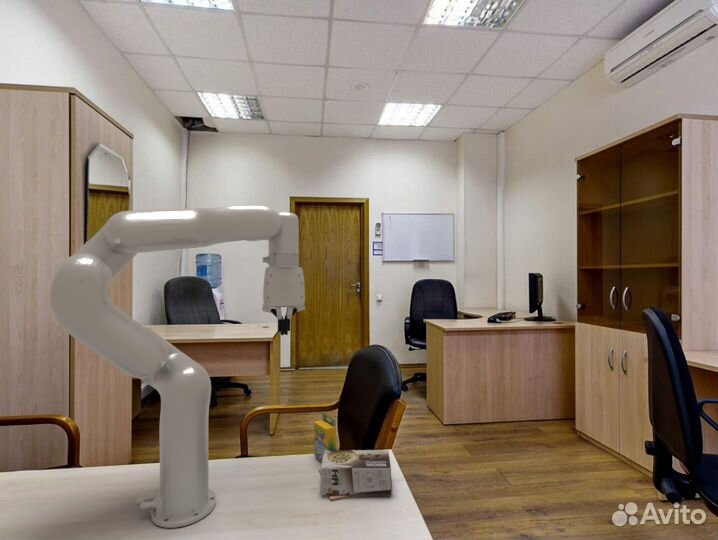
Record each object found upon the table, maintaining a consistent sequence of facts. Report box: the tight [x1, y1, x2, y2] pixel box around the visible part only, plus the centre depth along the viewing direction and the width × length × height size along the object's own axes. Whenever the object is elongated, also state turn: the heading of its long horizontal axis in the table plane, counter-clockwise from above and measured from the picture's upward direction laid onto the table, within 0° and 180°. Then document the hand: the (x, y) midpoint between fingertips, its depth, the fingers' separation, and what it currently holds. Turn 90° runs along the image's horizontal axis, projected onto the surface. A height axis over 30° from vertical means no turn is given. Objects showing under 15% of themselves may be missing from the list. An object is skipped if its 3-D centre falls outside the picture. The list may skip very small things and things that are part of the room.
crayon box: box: [313, 412, 337, 463], centre depth 100 cm, size 7×3×12 cm, turn 33°
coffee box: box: [319, 449, 393, 497], centre depth 88 cm, size 9×6×16 cm
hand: (284, 334), depth 95 cm, fingers closed
